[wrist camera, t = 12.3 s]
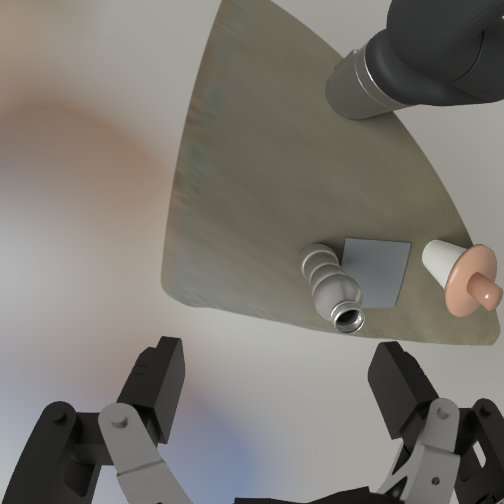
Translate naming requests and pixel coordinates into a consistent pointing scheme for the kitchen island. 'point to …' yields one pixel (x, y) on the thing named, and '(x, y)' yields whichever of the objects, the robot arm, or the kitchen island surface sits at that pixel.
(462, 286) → the lid
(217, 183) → the kitchen island surface
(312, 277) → the plastic bottle
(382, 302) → the mat
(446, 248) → the foam cup
